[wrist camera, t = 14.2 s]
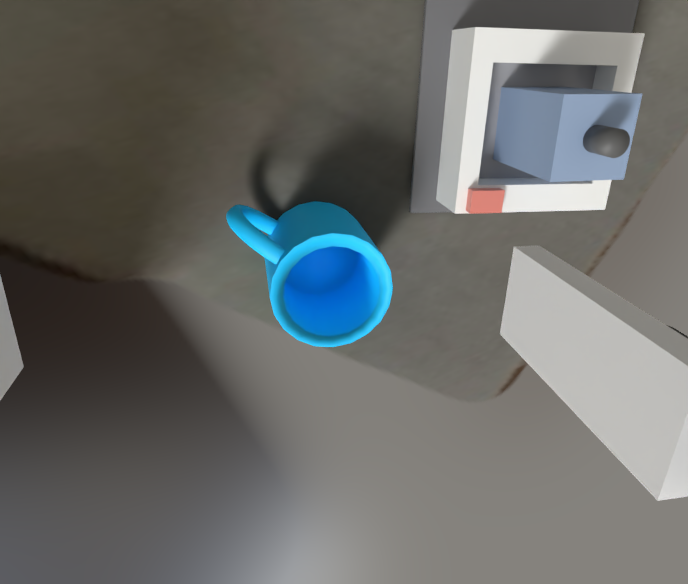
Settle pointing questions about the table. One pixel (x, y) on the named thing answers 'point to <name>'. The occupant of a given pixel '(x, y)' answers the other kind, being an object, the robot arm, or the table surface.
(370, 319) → the mug
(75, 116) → the table surface
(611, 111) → the plug
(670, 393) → the robot arm
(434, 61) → the socket
